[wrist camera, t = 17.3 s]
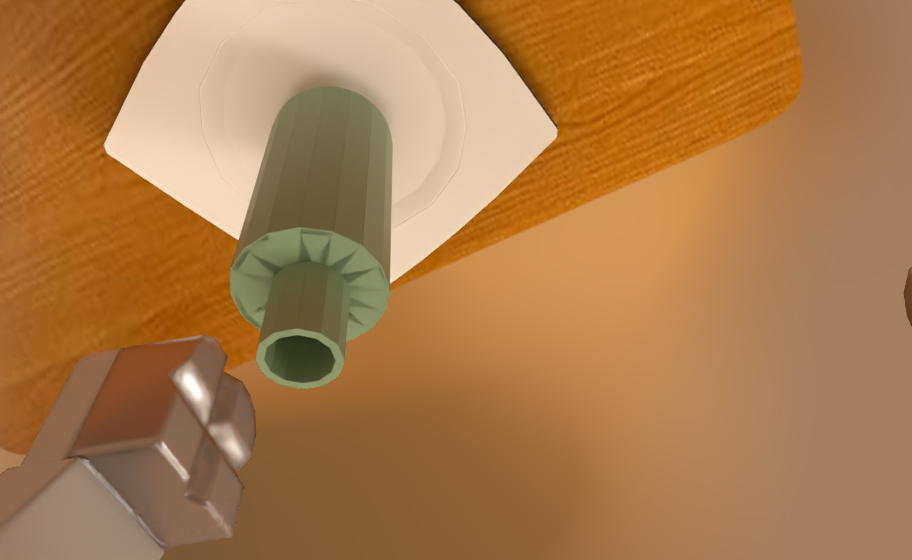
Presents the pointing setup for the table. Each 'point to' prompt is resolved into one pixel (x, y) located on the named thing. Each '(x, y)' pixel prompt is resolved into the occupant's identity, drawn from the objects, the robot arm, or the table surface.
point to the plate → (338, 65)
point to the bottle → (316, 235)
